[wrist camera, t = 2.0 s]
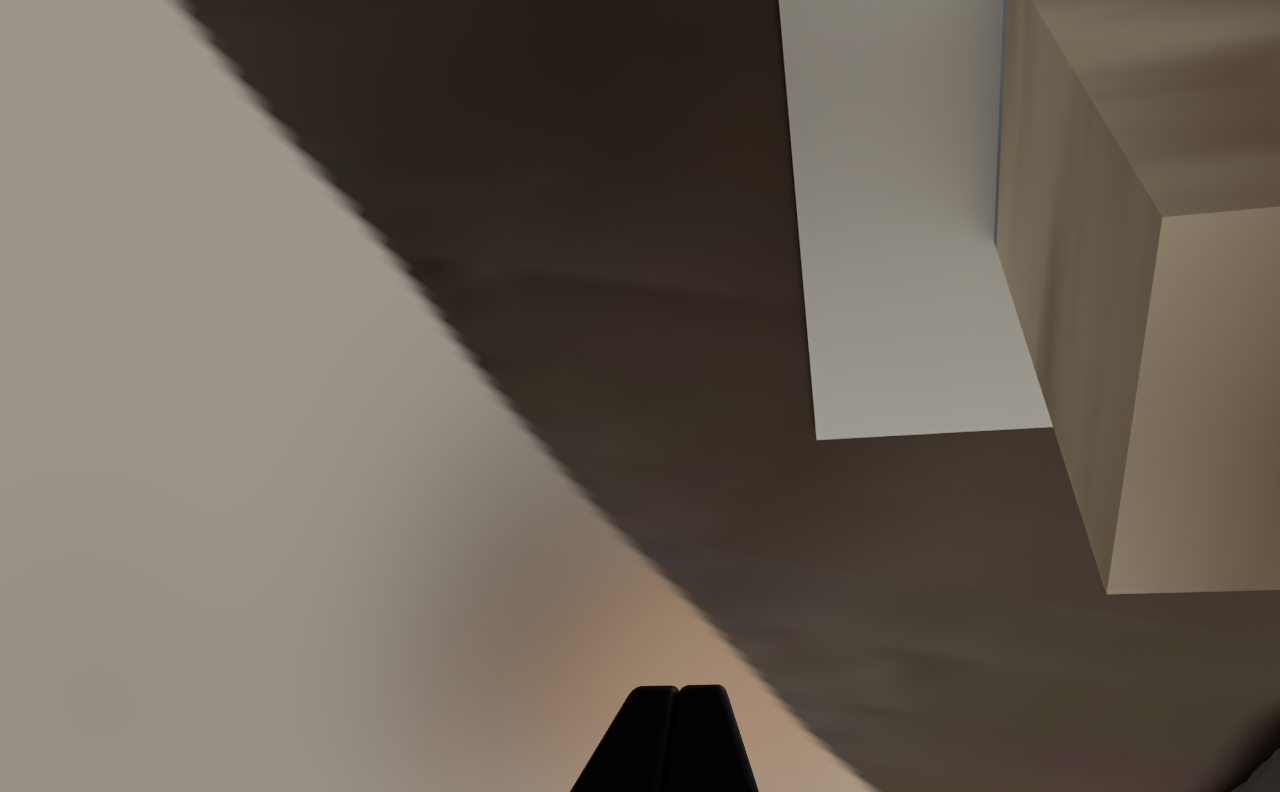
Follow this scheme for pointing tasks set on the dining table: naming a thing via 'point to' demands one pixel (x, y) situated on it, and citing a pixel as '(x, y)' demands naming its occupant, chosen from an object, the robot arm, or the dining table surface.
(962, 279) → the grey mat
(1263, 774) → the brain slice
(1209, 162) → the birch block
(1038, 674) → the dining table surface
